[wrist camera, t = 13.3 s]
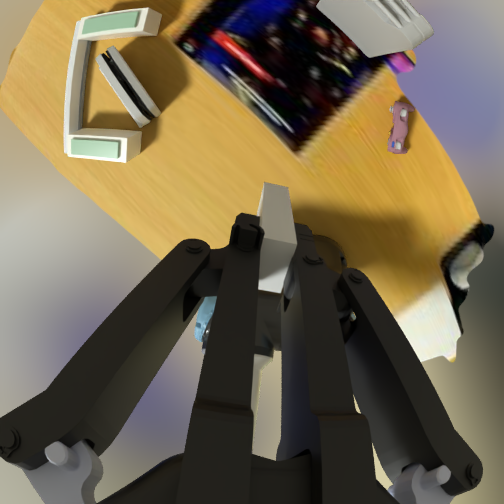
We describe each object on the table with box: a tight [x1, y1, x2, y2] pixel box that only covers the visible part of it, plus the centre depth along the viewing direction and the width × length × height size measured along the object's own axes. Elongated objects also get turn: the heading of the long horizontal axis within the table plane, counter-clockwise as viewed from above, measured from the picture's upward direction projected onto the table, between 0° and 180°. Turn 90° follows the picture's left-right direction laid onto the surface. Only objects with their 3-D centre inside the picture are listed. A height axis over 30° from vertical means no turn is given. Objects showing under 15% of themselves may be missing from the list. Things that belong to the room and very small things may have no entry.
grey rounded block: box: [96, 46, 161, 128], centre depth 35 cm, size 17×5×10 cm, turn 30°
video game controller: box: [388, 101, 415, 154], centre depth 38 cm, size 10×5×7 cm, turn 178°
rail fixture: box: [64, 8, 162, 163], centre depth 35 cm, size 28×17×7 cm, turn 168°
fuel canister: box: [316, 0, 434, 58], centre depth 20 cm, size 15×5×25 cm, turn 47°
